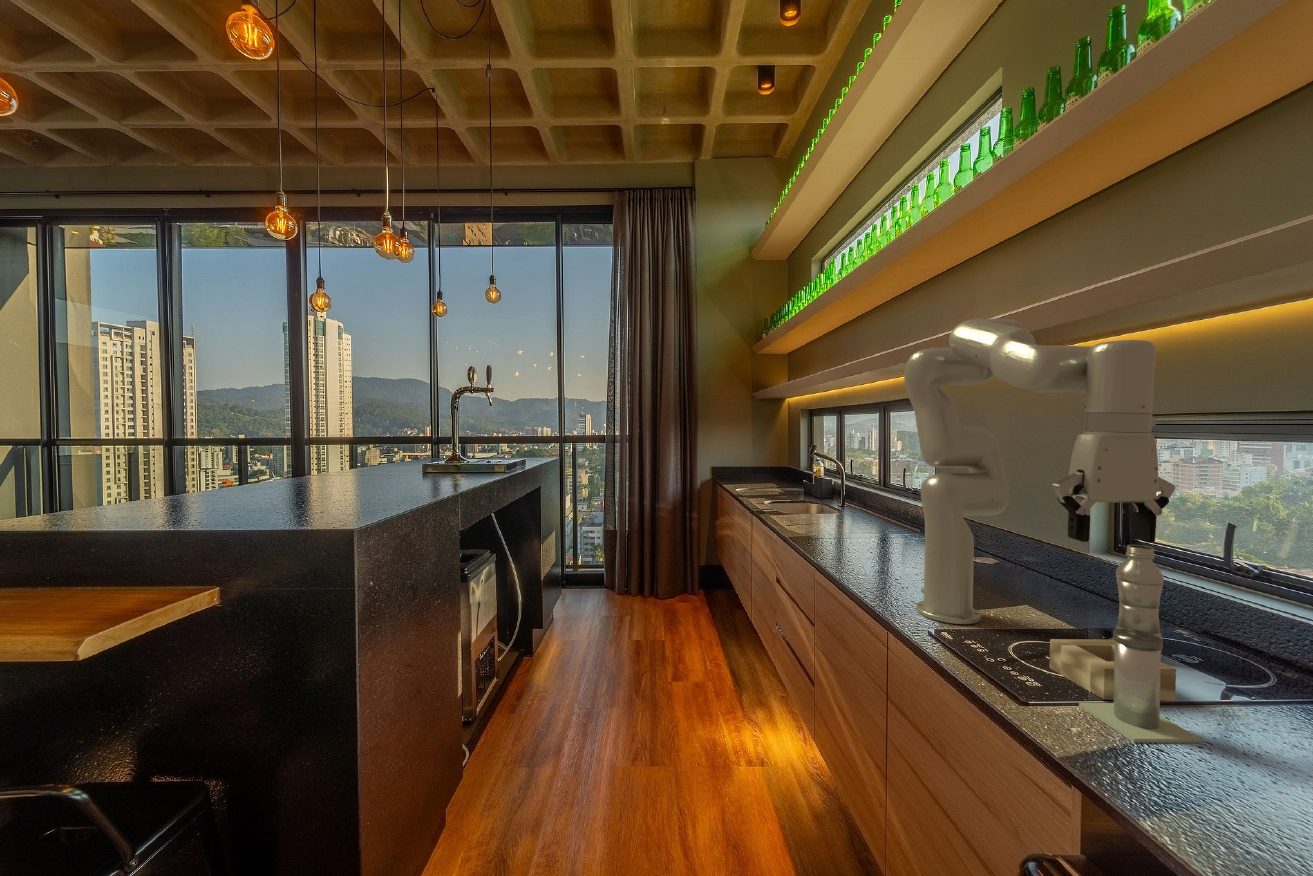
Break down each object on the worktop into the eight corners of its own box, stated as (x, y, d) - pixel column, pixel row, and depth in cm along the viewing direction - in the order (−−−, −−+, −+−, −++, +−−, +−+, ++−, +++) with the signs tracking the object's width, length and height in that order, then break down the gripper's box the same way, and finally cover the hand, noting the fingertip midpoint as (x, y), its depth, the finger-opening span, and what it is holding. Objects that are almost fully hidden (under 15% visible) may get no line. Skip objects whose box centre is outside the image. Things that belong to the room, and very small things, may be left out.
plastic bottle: (1172, 664, 93) (1175, 552, 92) (1128, 660, 94) (1131, 550, 94) (1146, 648, 99) (1149, 544, 98) (1105, 645, 100) (1108, 542, 100)
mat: (1078, 706, 78) (1079, 702, 78) (1138, 706, 78) (1138, 703, 78) (1133, 742, 69) (1133, 738, 69) (1201, 742, 69) (1201, 739, 69)
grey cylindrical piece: (1101, 709, 77) (1103, 628, 76) (1137, 709, 77) (1138, 628, 76) (1134, 730, 71) (1135, 643, 71) (1172, 730, 71) (1174, 643, 71)
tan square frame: (1049, 667, 91) (1050, 639, 91) (1112, 668, 91) (1113, 639, 91) (1103, 701, 80) (1104, 668, 80) (1175, 701, 80) (1176, 669, 80)
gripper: (1151, 425, 81) (1144, 534, 82) (1039, 424, 81) (1034, 533, 82) (1201, 426, 73) (1194, 547, 74) (1078, 426, 73) (1072, 546, 74)
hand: (1110, 539), depth 78 cm, fingers open, 9 cm apart
